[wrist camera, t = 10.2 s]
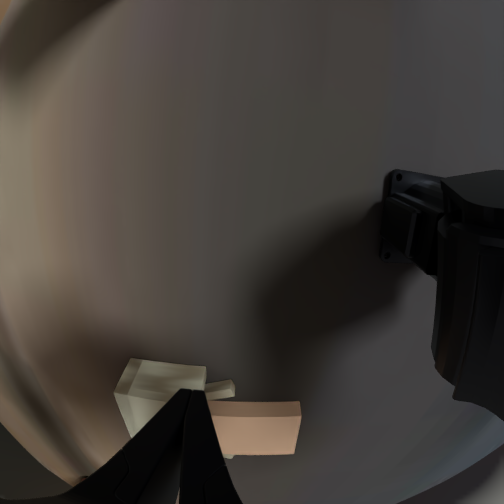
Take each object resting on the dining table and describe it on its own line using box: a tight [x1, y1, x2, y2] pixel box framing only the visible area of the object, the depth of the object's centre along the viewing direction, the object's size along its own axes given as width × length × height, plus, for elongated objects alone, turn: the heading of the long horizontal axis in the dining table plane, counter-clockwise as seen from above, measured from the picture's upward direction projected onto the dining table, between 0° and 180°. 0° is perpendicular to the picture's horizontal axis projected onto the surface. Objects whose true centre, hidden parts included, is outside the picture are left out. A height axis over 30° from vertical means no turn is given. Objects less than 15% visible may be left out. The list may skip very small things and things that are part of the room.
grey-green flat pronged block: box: [113, 358, 235, 459], centre depth 24 cm, size 9×15×4 cm, turn 178°
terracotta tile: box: [207, 400, 302, 455], centre depth 26 cm, size 14×7×2 cm, turn 90°
